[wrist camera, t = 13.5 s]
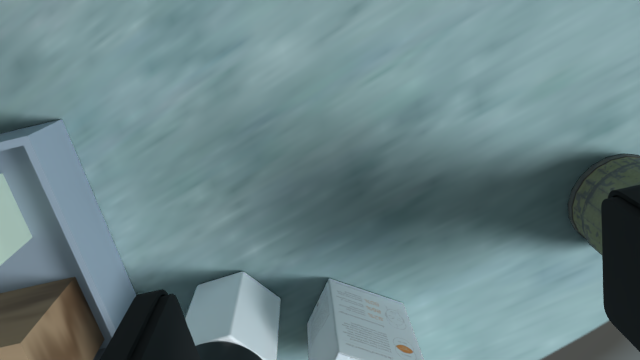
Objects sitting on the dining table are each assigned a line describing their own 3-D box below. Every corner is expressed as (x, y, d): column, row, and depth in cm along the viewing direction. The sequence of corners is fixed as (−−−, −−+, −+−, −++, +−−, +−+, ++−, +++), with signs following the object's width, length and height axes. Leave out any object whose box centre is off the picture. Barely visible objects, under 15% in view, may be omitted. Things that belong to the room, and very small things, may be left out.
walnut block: (-21, 297, 44) (-98, 368, 35) (75, 276, 43) (20, 343, 35) (13, 359, 46) (-51, 439, 38) (104, 339, 46) (59, 416, 37)
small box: (305, 322, 47) (307, 408, 37) (328, 275, 45) (336, 351, 35) (380, 347, 48) (401, 436, 38) (405, 302, 46) (433, 383, 37)
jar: (171, 312, 46) (128, 413, 35) (225, 254, 44) (199, 341, 33) (245, 362, 48) (228, 472, 37) (299, 309, 46) (299, 408, 35)
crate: (-138, 166, 40) (-199, 189, 35) (61, 119, 39) (27, 135, 34) (-15, 374, 47) (-51, 416, 43) (154, 337, 47) (137, 377, 42)
